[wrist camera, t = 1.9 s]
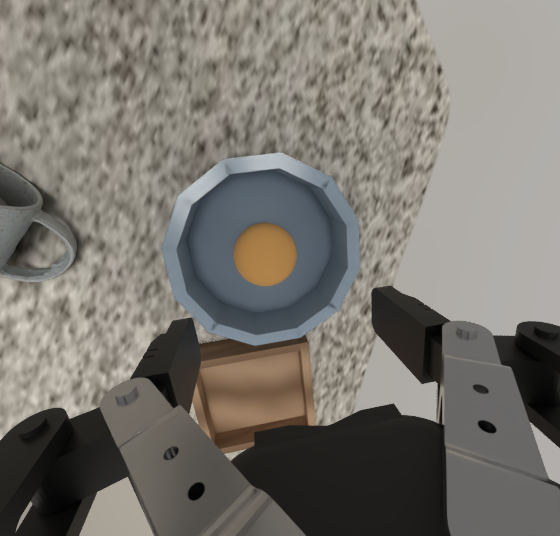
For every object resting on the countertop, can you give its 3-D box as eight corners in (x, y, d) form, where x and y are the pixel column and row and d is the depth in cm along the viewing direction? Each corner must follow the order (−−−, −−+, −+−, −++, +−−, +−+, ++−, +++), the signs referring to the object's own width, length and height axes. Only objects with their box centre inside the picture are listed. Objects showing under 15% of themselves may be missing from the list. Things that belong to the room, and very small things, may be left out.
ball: (229, 223, 24) (226, 234, 19) (287, 215, 24) (299, 223, 19) (239, 278, 25) (238, 301, 20) (293, 269, 26) (305, 290, 21)
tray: (188, 346, 28) (182, 364, 25) (301, 326, 29) (308, 342, 26) (211, 432, 32) (208, 457, 29) (310, 412, 33) (316, 433, 30)
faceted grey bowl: (161, 170, 22) (140, 168, 18) (334, 151, 24) (357, 144, 19) (198, 326, 27) (190, 357, 23) (341, 302, 29) (360, 326, 24)
